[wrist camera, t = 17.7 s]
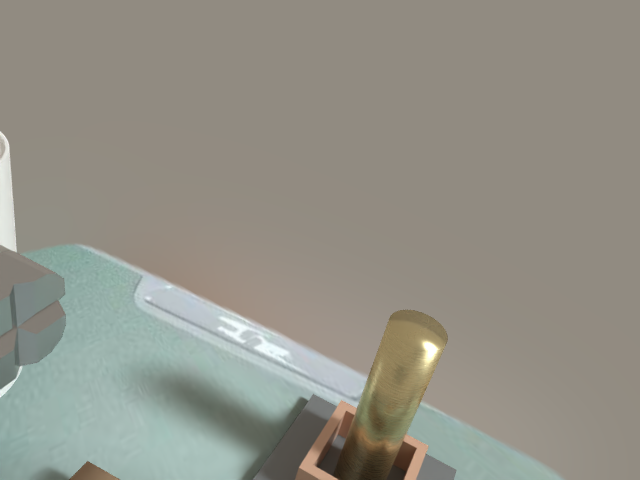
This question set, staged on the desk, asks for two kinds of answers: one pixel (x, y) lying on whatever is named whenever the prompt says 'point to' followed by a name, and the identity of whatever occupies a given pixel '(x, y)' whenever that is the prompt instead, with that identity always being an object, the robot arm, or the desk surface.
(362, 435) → the axle
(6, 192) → the canister
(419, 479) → the stand
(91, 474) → the wooden block with recess
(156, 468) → the desk surface
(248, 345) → the desk surface
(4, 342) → the robot arm
